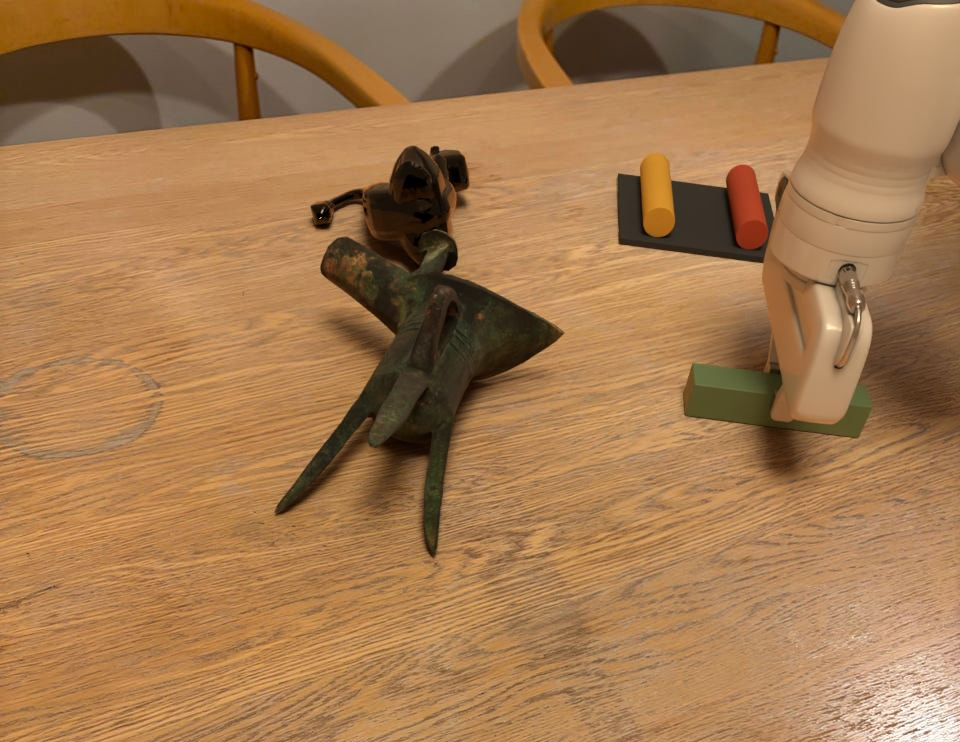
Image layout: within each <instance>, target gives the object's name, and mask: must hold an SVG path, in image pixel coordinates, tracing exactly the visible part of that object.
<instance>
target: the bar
mask: <svg viewBox="0 0 960 742" xmlns="http://www.w3.org/2000/svg"><path fill="white" fill-rule="evenodd" d="M685 383H686V384H685V386H684V390H683V403H684V404H683V405H684V415H685V416H686V417H694V418H699V419H709V420H716V421H724V422H731V423H739V424H748V425H755V426H764V427H770V428H779V429H787V430H793V431H801V432H810V433H816V434H823V435H824V434H826V435H833V436H840V437H847V438H848V437H849V438H855V439H859V438H860V436H861V434H862V431H863V430H864V427H865V425H866V423H867V420H868V419H869V417H870V414H871V413H872V410H873V407H874V406H873V403H872V401H871V396H870V394H869V390H868V387H867V385H866V384H859V383H858V384H857V386H856V389H855V392H854V394H853V397H852V399H851V402H850V404H849V407H848V409H847V412H846V414H845V415H844V417H843V418H842V419H841V420H839V421H838V422H837V423H835V424H820V423H812V422H805V421H799V420H795V419H793V420H792V421H790V422H783V421H775V420H773V419H772V418H771V412H770V402H771V400H772V397H773V393H774V391H775V390H779V389H780V388H781V386H782V384H783V383H782V376H781V374H775V373H768V372H764V371H759V370H752V369H743V368H738V367H737V368H736V367H729V366H728V367H727V366H722V365H713V364H705V363H697V362H692V364H691V367H690V369H689V373H688V377H687V380H686V382H685Z"/></svg>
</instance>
